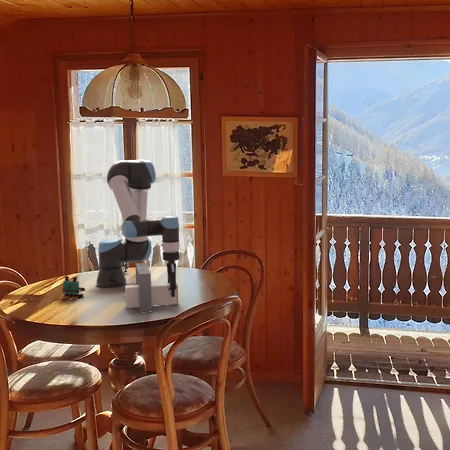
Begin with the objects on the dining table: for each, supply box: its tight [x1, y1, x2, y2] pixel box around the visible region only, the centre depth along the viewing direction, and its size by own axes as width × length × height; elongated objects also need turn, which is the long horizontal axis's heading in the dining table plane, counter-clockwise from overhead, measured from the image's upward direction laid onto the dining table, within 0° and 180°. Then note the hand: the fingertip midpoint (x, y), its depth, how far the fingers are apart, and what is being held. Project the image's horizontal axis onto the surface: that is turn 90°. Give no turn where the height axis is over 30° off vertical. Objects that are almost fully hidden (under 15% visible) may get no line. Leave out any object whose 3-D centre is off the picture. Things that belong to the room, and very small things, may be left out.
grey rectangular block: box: [124, 282, 179, 309], centre depth 278 cm, size 23×5×9 cm, turn 101°
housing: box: [135, 262, 153, 314], centre depth 277 cm, size 5×24×17 cm, turn 11°
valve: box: [122, 263, 129, 275], centre depth 347 cm, size 7×7×12 cm
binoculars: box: [62, 275, 86, 301], centre depth 295 cm, size 9×11×10 cm
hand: (172, 301), depth 281 cm, fingers closed on grey rectangular block, 5 cm apart
